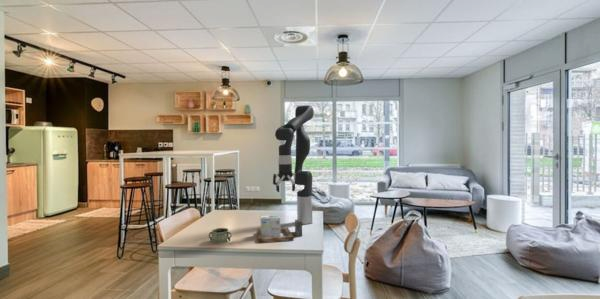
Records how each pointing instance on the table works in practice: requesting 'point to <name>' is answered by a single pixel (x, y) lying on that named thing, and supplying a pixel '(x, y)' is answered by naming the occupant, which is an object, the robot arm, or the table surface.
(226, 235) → the vessel
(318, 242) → the table surface
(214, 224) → the table surface
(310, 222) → the robot arm
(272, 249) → the table surface
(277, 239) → the pull frame
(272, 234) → the light bulb box
